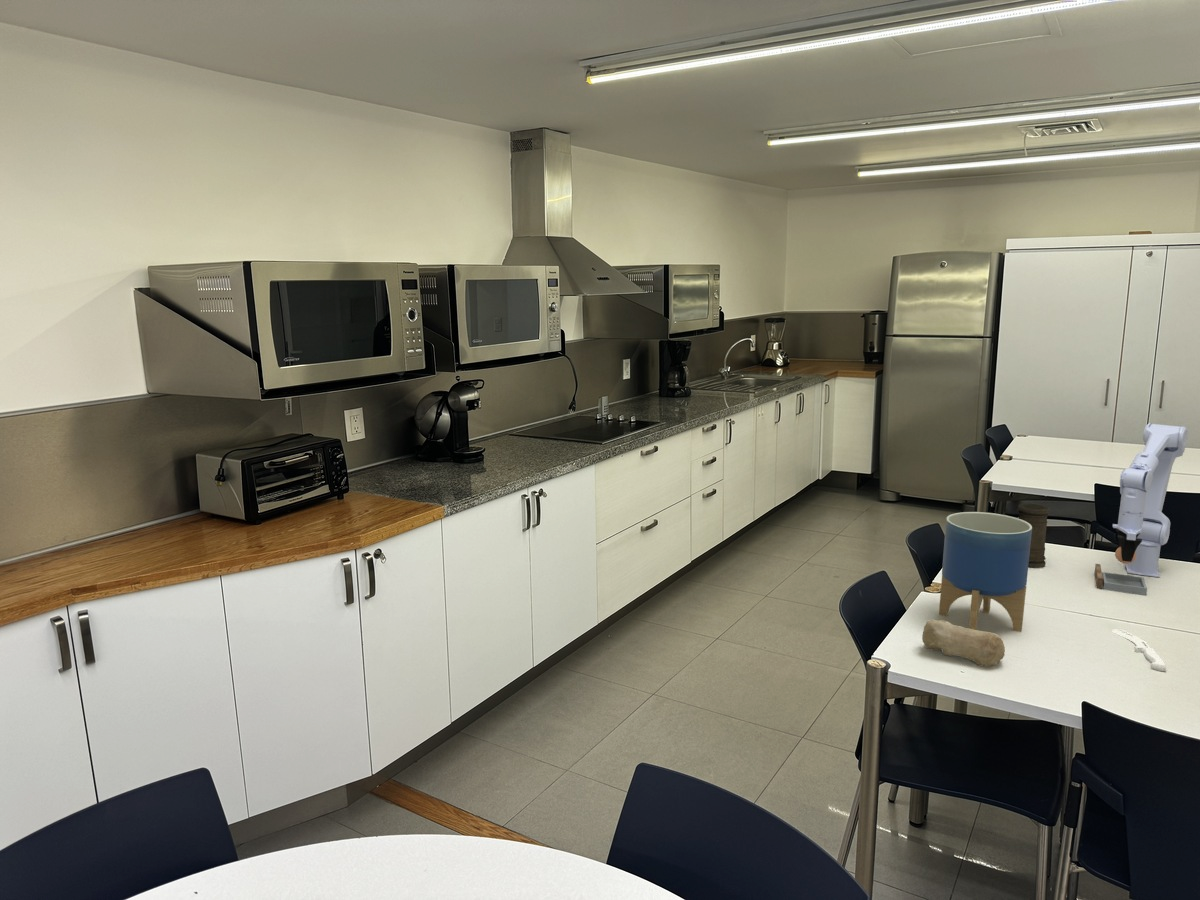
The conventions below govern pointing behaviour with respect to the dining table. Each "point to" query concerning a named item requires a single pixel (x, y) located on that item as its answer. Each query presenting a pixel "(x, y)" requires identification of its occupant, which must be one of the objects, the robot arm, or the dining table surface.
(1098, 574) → the rail
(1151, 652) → the knife
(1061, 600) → the dining table surface
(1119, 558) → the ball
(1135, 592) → the tray
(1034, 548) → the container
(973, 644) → the tan rounded lump
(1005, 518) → the planter
